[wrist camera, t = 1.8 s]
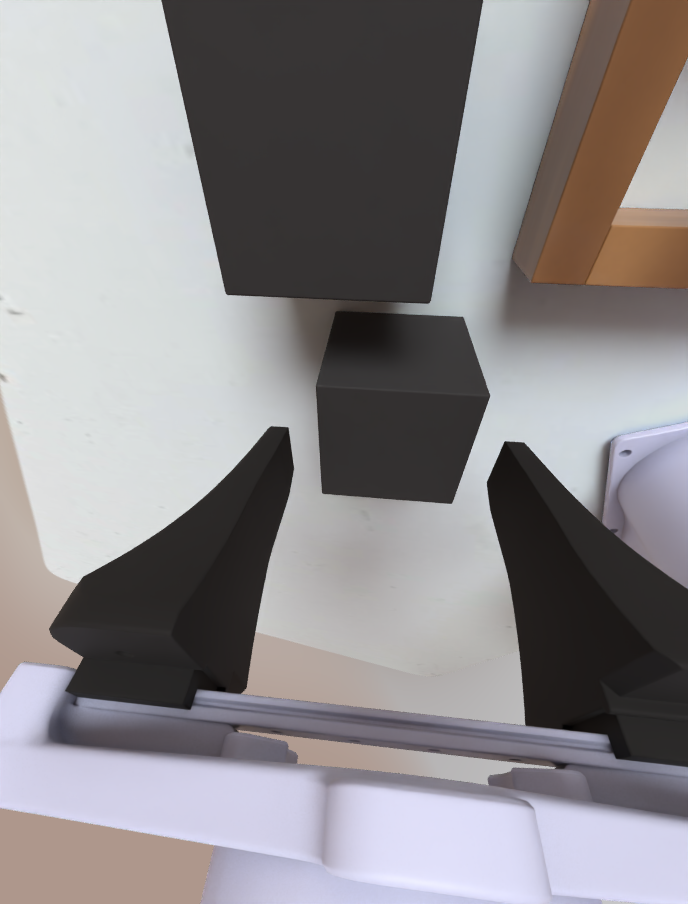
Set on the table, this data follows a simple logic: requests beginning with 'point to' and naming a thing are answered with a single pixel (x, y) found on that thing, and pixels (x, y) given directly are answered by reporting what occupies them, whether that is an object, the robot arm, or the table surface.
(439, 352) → the dark grey block
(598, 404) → the table surface
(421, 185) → the black block
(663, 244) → the wooden frame
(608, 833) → the robot arm
